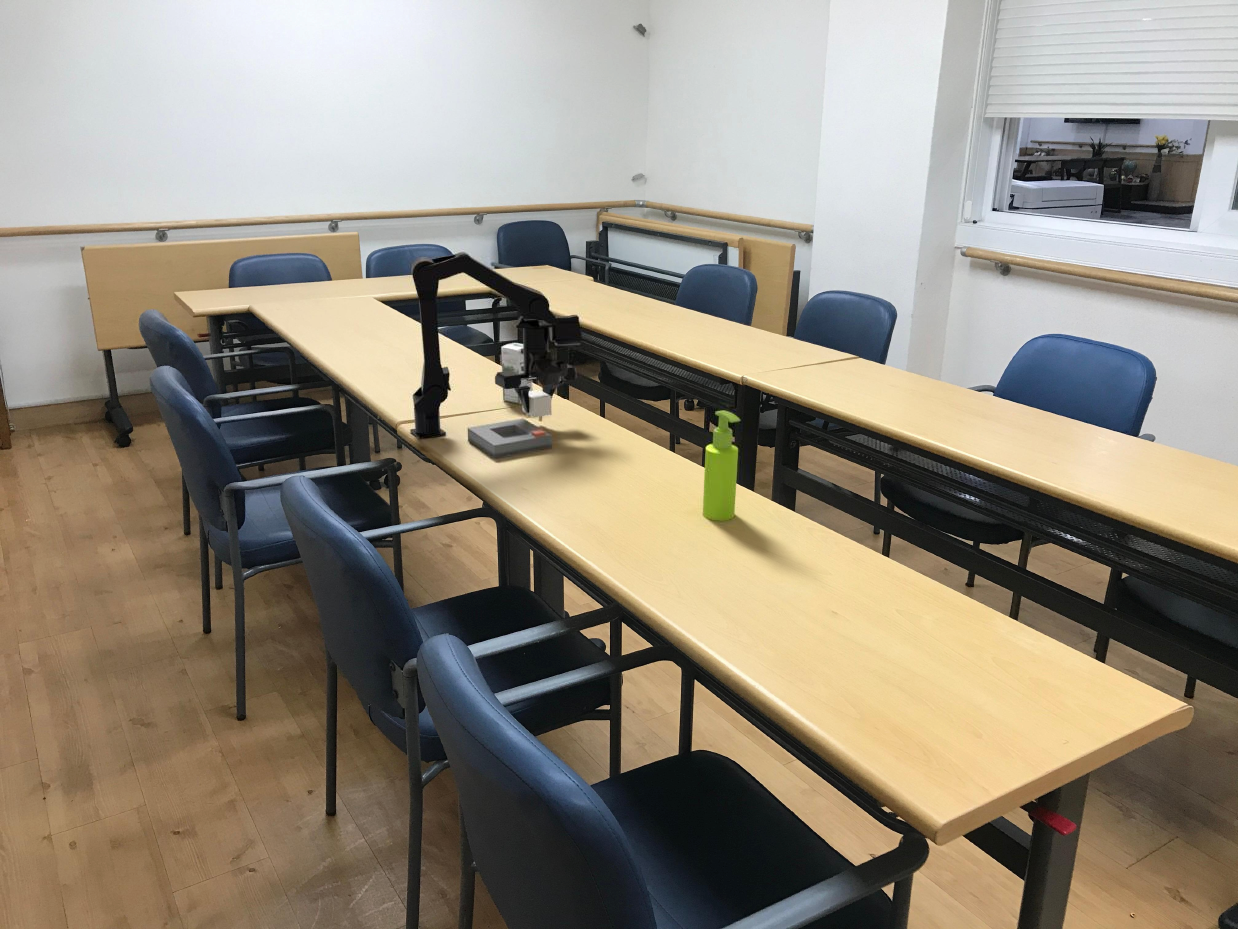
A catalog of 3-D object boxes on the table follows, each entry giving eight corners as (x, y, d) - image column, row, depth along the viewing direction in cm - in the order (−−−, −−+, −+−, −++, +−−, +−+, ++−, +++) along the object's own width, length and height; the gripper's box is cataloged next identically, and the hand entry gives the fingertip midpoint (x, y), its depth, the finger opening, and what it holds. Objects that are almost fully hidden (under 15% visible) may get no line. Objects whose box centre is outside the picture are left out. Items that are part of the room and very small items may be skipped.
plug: (522, 416, 226) (521, 392, 224) (539, 413, 228) (539, 389, 226) (534, 423, 221) (533, 398, 219) (551, 420, 223) (551, 396, 221)
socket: (468, 440, 215) (467, 424, 214) (523, 430, 222) (523, 415, 221) (494, 458, 204) (494, 442, 203) (552, 447, 211) (551, 432, 210)
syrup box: (533, 399, 247) (532, 344, 242) (519, 405, 242) (518, 349, 237) (516, 396, 249) (515, 341, 244) (502, 401, 245) (500, 346, 240)
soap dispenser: (716, 525, 173) (722, 420, 166) (696, 511, 179) (701, 409, 172) (743, 519, 176) (750, 415, 169) (722, 506, 181) (728, 405, 174)
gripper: (514, 358, 207) (516, 426, 213) (588, 348, 217) (588, 414, 222) (492, 347, 216) (495, 413, 222) (564, 339, 226) (565, 402, 231)
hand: (536, 411), depth 224 cm, fingers closed on plug, 5 cm apart
